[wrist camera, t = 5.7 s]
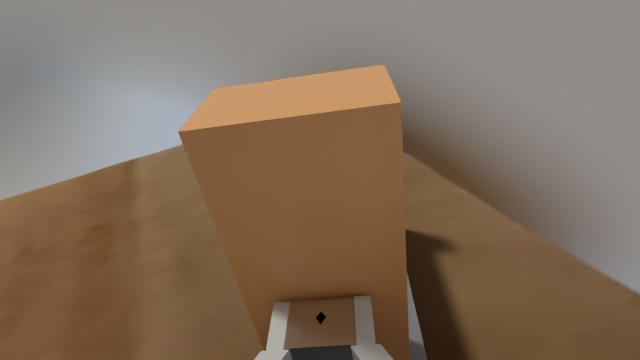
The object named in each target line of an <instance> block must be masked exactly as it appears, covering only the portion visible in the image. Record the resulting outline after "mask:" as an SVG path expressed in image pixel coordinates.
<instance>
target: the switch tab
mask: <svg viewBox="0 0 640 360" xmlns="http://www.w3.org/2000/svg"><path fill="white" fill-rule="evenodd" d="M178 133H179V135H180V137H181V140H182V143H183V145H184V148H185V150H186V153H187V155H188V158H189V161H190V163H191V166H192V168H193V171H194V173H195V176H196V178H197V181H198V183H199V186H200V188H201V191H202V194H203V196H204V199H205V201H206V204H207V206H208V209H209V211H210V214H211V216H212V219H213V222H214V224H215V227H216V229H217V232H218V234H219V237H220V239H221V242H222V244H223V247H224V249H225V252H226V255H227V257H228V260H229V262H230V265H231V267H232V270H233V272H234V275H235V277H236V280H237V283H238V285H239V288H240V290H241V293H242V295H243V298H244V300H245V303H246V305H247V308H248V310H249V313H250V316H251V318H252V321H253V323H254V326H255V328H256V331H257V333H258V336H259V338H260V341H261V344H262V346H263V349H264V351H266V346H267V340H268V335H269V329H270V323H271V317H272V311H273V306H274V304H275V302H285V301H303V300H322V299H327V298H338V297H350V296H367V295H370V297H371V304H372V313H373V322H374V331H375V341H376V344H381V345H382V346H383V347H384V349H385V350H386V351H387V352H388V353H389V355H390V356H391V357H392V358H393V360H410V354H409V324H408V293H407V263H406V233H405V203H404V172H403V142H402V112H401V101H400V99H399V96H398V94H397V92H396V90H395V87H394V85H393V83H392V81H391V79H390V76H389V74H388V72H387V70H386V68H385V65H377V66H371V67H364V68H357V69H349V70H342V71H336V72H329V73H321V74H314V75H308V76H301V77H294V78H287V79H281V80H273V81H266V82H259V83H252V84H245V85H239V86H231V87H224V88H217V89H214V90H213V91H212V93H211V94H210V95H209V96H208V97H207V98H206V100H205V101H204V102H203V103H202V104H201V105H200V107H199V108H198V109H197V110H196V112H194V114H193V115H192V116H191V117H190V118H189V120H188V121H187V122H186V123H185V124H184V125H183V127H182V128H181V129H180V130H179V131H178Z"/></svg>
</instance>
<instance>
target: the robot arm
mask: <svg viewBox="0 0 640 360" xmlns="http://www.w3.org/2000/svg"><path fill="white" fill-rule="evenodd" d="M254 360H393V358H392V357H391V356H390V355H389V353H388V352H387V351H386V350H385V349H384V347H383V346H382V345H381V344H376V341H375V331H374V322H373V313H372V304H371V297H370V295H367V296H350V297H338V298H327V299H322V300H303V301H285V302H275V304H274V306H273V311H272V317H271V323H270V329H269V335H268V340H267V346H266V351H261V352H260V353H259V354H258V356H257V357H256V358H255V359H254Z"/></svg>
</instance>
